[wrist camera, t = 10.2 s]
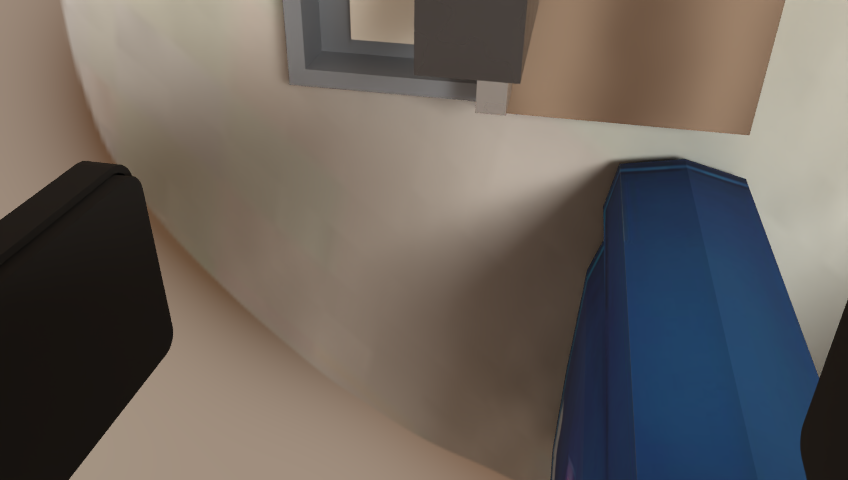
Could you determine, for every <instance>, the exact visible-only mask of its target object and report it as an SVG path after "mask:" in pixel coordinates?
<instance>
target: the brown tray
mask: <svg viewBox="0 0 848 480" xmlns="http://www.w3.org/2000/svg"><path fill="white" fill-rule="evenodd" d="M784 3H785V0H540V1H539V6H538V10H537V15H536V19H535V23H534V27H533V32H532V36H531V40H530V45H529V49H528V53H527V57H526V62H525V66H524V70H523V74H522V79H521V83H520V84H514V83H512V87H511V96H510V100H509V104H508V108H507V112H506V113H510V114H521V115H532V116H543V117H554V118H565V119H576V120H587V121H598V122H609V123H620V124H631V125H642V126H653V127H664V128H675V129H686V130H697V131H708V132H719V133H730V134H741V135H749V134H750V131H751V127H752V123H753V119H754V116H755V112H756V108H757V104H758V101H759V97H760V93H761V89H762V86H763V82H764V78H765V74H766V71H767V67H768V63H769V59H770V56H771V52H772V48H773V45H774V41H775V37H776V33H777V30H778V26H779V22H780V18H781V15H782V11H783V7H784Z"/></svg>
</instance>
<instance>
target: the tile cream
mask: <svg viewBox="0 0 848 480" xmlns="http://www.w3.org/2000/svg"><path fill="white" fill-rule="evenodd" d="M350 22H351V39H352V40H365V41H378V42H391V43H403V44H414V0H350Z"/></svg>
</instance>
